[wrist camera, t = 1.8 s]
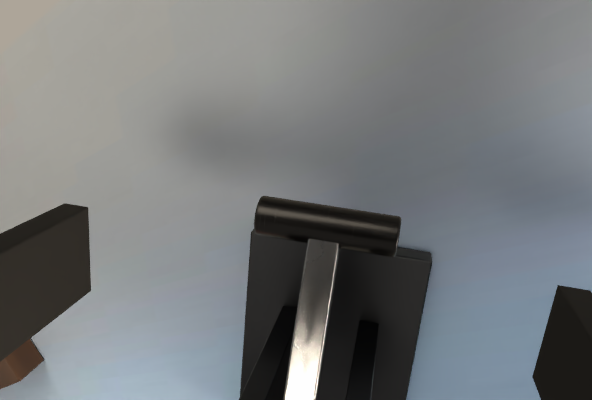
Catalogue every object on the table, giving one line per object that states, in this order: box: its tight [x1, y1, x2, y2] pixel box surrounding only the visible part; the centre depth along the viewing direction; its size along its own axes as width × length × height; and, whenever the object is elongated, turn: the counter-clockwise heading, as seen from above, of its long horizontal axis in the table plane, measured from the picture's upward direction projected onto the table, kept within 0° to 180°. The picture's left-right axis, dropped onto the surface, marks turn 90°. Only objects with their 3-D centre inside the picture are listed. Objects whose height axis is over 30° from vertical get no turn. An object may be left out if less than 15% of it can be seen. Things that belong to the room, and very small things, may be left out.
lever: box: [254, 196, 401, 400], centre depth 18 cm, size 12×5×2 cm, turn 175°
